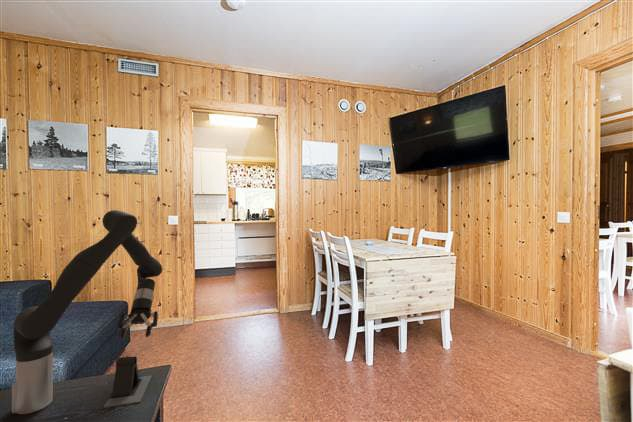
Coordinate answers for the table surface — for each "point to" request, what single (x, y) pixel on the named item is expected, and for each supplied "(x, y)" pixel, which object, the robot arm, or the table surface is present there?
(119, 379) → the phone stand
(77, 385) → the table surface
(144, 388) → the bracket
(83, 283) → the robot arm
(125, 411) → the table surface
